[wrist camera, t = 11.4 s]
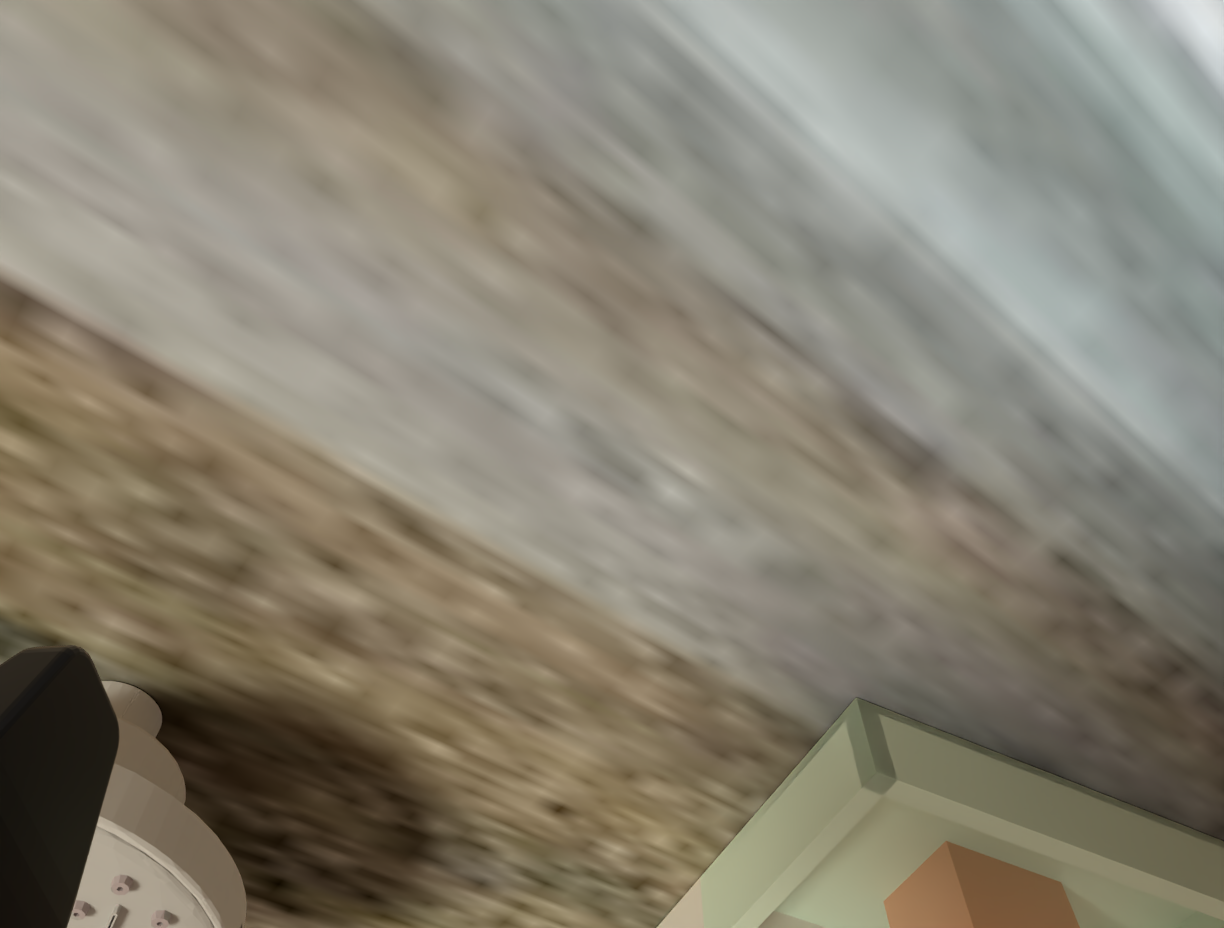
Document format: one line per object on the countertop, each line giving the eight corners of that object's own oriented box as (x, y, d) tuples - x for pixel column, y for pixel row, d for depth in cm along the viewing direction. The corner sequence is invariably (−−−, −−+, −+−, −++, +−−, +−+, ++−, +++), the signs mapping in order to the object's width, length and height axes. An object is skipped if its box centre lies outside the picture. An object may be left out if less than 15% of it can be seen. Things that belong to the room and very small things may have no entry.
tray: (856, 697, 26) (876, 772, 24) (1270, 859, 30) (1318, 937, 28) (700, 877, 30) (706, 955, 28) (1082, 1003, 33) (1113, 1080, 31)
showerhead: (-357, 761, 17) (253, 896, 19) (-100, 508, 23) (342, 629, 25) (-306, 1053, 22) (179, 1139, 24) (-104, 780, 28) (268, 865, 30)
